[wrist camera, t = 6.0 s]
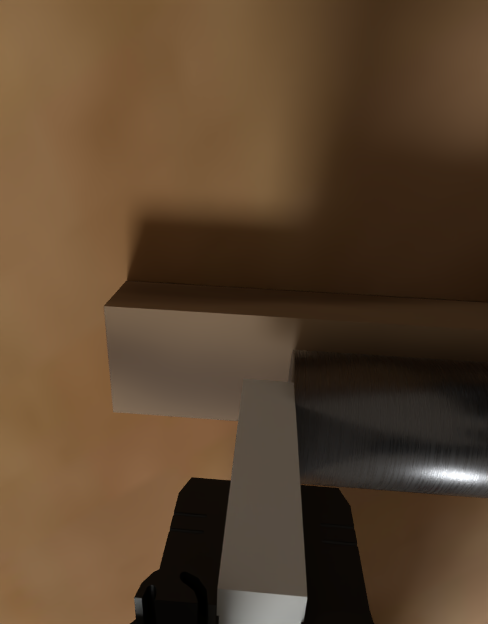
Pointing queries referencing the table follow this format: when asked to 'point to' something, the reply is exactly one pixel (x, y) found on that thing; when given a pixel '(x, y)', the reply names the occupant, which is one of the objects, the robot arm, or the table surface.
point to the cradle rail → (262, 339)
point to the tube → (391, 422)
